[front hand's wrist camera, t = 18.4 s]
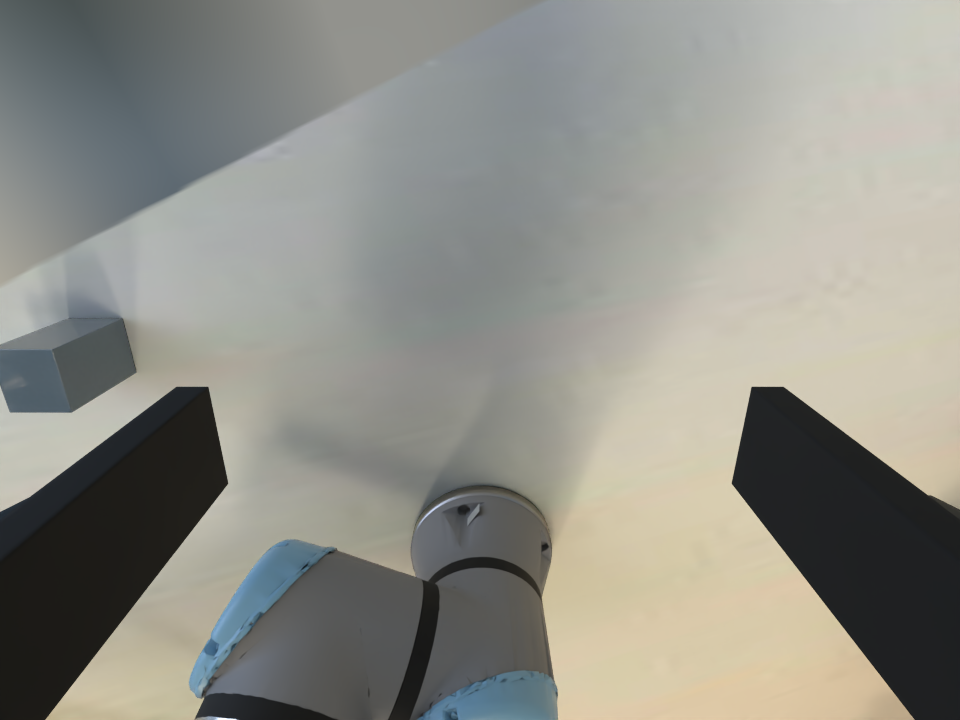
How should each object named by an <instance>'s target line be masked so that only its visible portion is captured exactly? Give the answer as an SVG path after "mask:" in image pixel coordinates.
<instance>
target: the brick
mask: <svg viewBox="0 0 960 720" xmlns="http://www.w3.org/2000/svg"><path fill="white" fill-rule="evenodd" d="M135 373H136V369H135V365H134V361H133V358H132V354H131V350H130V346H129V342H128V338H127V334H126V330H125V326H124V322H123V319H122V318H68V319H65V320H63V321H60V322H58V323H55V324H53V325H50V326H47V327H45V328H42V329H40V330H37V331H34V332H32V333H29V334H27V335H24V336H21V337H19V338H16V339H14V340H11V341H8V342H6V343H3V344H1V345H0V386H1V389H2V392H3V395H4V397H5V400H6V403H7V406H8V408H9V411H10V412H50V413H72V412H73V411H75V410H77V409H78V408H80V407H82V406H83V405H85V404H86V403H88V402H90V401H91V400H93V399H94V398H96V397H98V396H99V395H101V394H103V393H104V392H106V391H107V390H109V389H111V388H112V387H114V386H115V385H117V384H119V383H120V382H122V381H124V380H125V379H127V378H128V377H130V376H132V375H133V374H135Z"/></svg>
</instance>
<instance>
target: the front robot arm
mask: <svg viewBox="0 0 960 720" xmlns="http://www.w3.org/2000/svg"><path fill="white" fill-rule="evenodd" d="M227 485H228V480H227V475H226V470H225V465H224V461H223V456H222V451H221V446H220V441H219V436H218V432H217V427H216V422H215V417H214V412H213V407H212V403H211V398H210V393H209V388H208V387H176V388H174V389H173V390H172V391H170V392H169V393H168V394H166V395H165V396H164V397H162V398H161V399H160V400H158V401H157V402H156V403H154V404H153V405H152V406H150V407H149V408H148V409H146V410H145V411H144V412H142V413H141V414H140V415H139V416H137V417H136V418H135V419H133V420H132V421H131V422H129V423H128V424H127V425H125V426H124V427H123V428H121V429H120V430H119V431H117V432H116V433H115V434H113V435H112V436H111V437H109V438H108V439H107V440H105V441H104V442H103V443H101V444H100V445H99V446H97V447H96V448H95V449H93V450H92V451H91V452H89V453H88V454H87V455H85V456H84V457H83V458H81V459H80V460H79V461H77V462H76V463H75V464H73V465H72V466H71V467H69V468H68V469H67V470H65V471H64V472H63V473H61V474H60V475H59V476H57V477H56V478H55V479H53V480H52V481H51V482H49V483H48V484H47V485H45V486H44V487H43V488H41V489H40V490H39V491H37V492H36V493H35V494H33V495H32V496H31V497H29V498H27V499H25V500H23V501H21V502H19V503H17V504H15V505H13V506H11V507H9V508H7V509H5V510H3V511H1V512H0V720H45V719H46V718H47V717H48V715H49V714H50V713H51V712H52V710H53V709H54V708H55V706H56V705H57V704H58V703H59V701H60V700H61V699H62V697H63V696H64V695H65V693H66V692H67V691H68V690H69V688H70V687H71V686H72V684H73V683H74V682H75V681H76V679H77V678H78V677H79V675H80V674H81V673H82V672H83V670H84V669H85V668H86V666H87V665H88V664H89V663H90V661H91V660H92V659H93V657H94V656H95V655H96V654H97V652H98V651H99V650H100V648H101V647H102V646H103V644H104V643H105V642H106V641H107V639H108V638H109V637H110V635H111V634H112V633H113V632H114V630H115V629H116V628H117V626H118V625H119V624H120V623H121V621H122V620H123V619H124V617H125V616H126V615H127V614H128V612H129V611H130V610H131V608H132V607H133V606H134V604H135V603H136V602H137V601H138V599H139V598H140V597H141V595H142V594H143V593H144V592H145V590H146V589H147V588H148V586H149V585H150V584H151V583H152V581H153V580H154V579H155V577H156V576H157V575H158V574H159V572H160V571H161V570H162V568H163V567H164V566H165V565H166V563H167V562H168V561H169V559H170V558H171V557H172V555H173V554H174V553H175V552H176V550H177V549H178V548H179V546H180V545H181V544H182V543H183V541H184V540H185V539H186V537H187V536H188V535H189V534H190V532H191V531H192V530H193V528H194V527H195V526H196V525H197V523H198V522H199V521H200V519H201V518H202V517H203V515H204V514H205V513H206V512H207V510H208V509H209V508H210V506H211V505H212V504H213V503H214V501H215V500H216V499H217V497H218V496H219V495H220V494H221V492H222V491H223V490H224V488H225V487H226V486H227ZM732 485H733V486H734V487H735V488H736V490H737V491H738V492H739V494H740V495H741V496H742V497H743V499H744V500H745V501H746V503H747V504H748V505H749V506H750V508H751V509H752V510H753V512H754V513H755V514H756V515H757V517H758V518H759V519H760V521H761V522H762V523H763V525H764V526H765V527H766V528H767V530H768V531H769V532H770V534H771V535H772V536H773V537H774V539H775V540H776V541H777V543H778V544H779V545H780V546H781V548H782V549H783V550H784V552H785V553H786V554H787V555H788V557H789V558H790V559H791V561H792V562H793V563H794V565H795V566H796V567H797V568H798V570H799V571H800V572H801V574H802V575H803V576H804V577H805V579H806V580H807V581H808V583H809V584H810V585H811V586H812V588H813V589H814V590H815V592H816V593H817V594H818V595H819V597H820V598H821V599H822V601H823V602H824V603H825V604H826V606H827V607H828V608H829V610H830V611H831V612H832V614H833V615H834V616H835V617H836V619H837V620H838V621H839V623H840V624H841V625H842V626H843V628H844V629H845V630H846V632H847V633H848V634H849V635H850V637H851V638H852V639H853V641H854V642H855V643H856V644H857V646H858V647H859V648H860V650H861V651H862V652H863V654H864V655H865V656H866V657H867V659H868V660H869V661H870V663H871V664H872V665H873V666H874V668H875V669H876V670H877V672H878V673H879V674H880V675H881V677H882V678H883V679H884V681H885V682H886V683H887V684H888V686H889V687H890V688H891V690H892V691H893V692H894V694H895V695H896V696H897V697H898V699H899V700H900V701H901V703H902V704H903V705H904V706H905V708H906V709H907V710H908V712H909V713H910V714H911V715H912V717H913V718H914V719H915V720H960V510H959V509H957V508H955V507H953V506H951V505H949V504H947V503H945V502H943V501H941V500H939V499H937V498H935V497H933V496H928V495H927V494H925V493H924V492H923V491H921V490H920V489H919V488H917V487H916V486H915V485H913V484H912V483H911V482H909V481H908V480H907V479H905V478H904V477H903V476H901V475H900V474H899V473H897V472H896V471H895V470H893V469H892V468H891V467H889V466H888V465H887V464H885V463H884V462H883V461H881V460H880V459H879V458H877V457H876V456H875V455H873V454H872V453H871V452H869V451H868V450H867V449H865V448H864V447H863V446H861V445H860V444H859V443H857V442H856V441H855V440H853V439H852V438H851V437H849V436H848V435H847V434H845V433H844V432H843V431H841V430H840V429H839V428H837V427H836V426H835V425H833V424H832V423H831V422H829V421H828V420H827V419H825V418H824V417H823V416H821V415H820V414H819V413H818V412H816V411H815V410H814V409H812V408H811V407H810V406H808V405H807V404H806V403H804V402H803V401H802V400H800V399H799V398H798V397H796V396H795V395H794V394H792V393H791V392H790V391H788V390H787V389H786V388H784V387H752V388H751V393H750V398H749V403H748V407H747V412H746V417H745V422H744V427H743V432H742V436H741V441H740V446H739V451H738V456H737V461H736V465H735V470H734V475H733V480H732ZM551 557H552V545H551V539H550V534H549V529H548V526H547V524H546V521H545V519H544V518H543V516H542V514H541V513H540V512H539V511H538V509H537V508H536V507H535V506H534V505H533V504H532V503H530V502H529V501H528V500H526V499H525V498H523V497H522V496H520V495H518V494H516V493H514V492H511V491H509V490H506V489H502V488H498V487H491V486H472V487H465V488H461V489H457V490H454V491H451V492H449V493H447V494H445V495H443V496H441V497H439V498H438V499H436V500H435V501H434V502H432V503H431V504H430V505H429V506H428V507H427V508H426V509H425V510H424V511H423V513H422V514H421V516H420V517H419V519H418V521H417V523H416V525H415V528H414V532H413V538H412V544H411V559H412V565H413V569H414V571H415V575H416V577H414V576H411V575H408V574H405V573H401V572H398V571H395V570H392V569H389V568H387V567H384V566H381V565H378V564H375V563H372V562H369V561H366V560H363V559H360V558H357V557H355V556H352V555H349V554H346V553H343V552H340V551H337V548H335V547H327V548H325V547H321V546H318V545H314V544H310V543H307V542H303V541H299V540H294V539H290V540H284V541H281V542H279V543H277V544H276V545H274V546H273V547H271V548H270V549H269V550H268V551H267V552H266V553H265V554H264V555H263V556H262V557H261V558H260V560H259V561H258V562H257V563H256V564H255V566H254V567H253V568H252V570H251V571H250V572H249V574H248V575H247V577H246V578H245V579H244V581H243V582H242V584H241V585H240V587H239V588H238V590H237V591H236V593H235V594H234V596H233V597H232V599H231V601H230V602H229V604H228V605H227V607H226V609H225V610H224V612H223V614H222V615H221V617H220V618H219V620H218V622H217V624H216V626H215V627H214V629H213V631H212V633H211V638H210V639H209V640H208V642H207V643H206V645H205V647H204V649H203V651H202V652H201V654H200V655H199V657H198V659H197V661H196V663H195V666H194V668H193V671H192V673H191V676H190V680H189V686H190V690H191V691H192V692H194V693H195V695H196V697H197V698H201V699H202V698H203V697H204V700H203V703H202V705H201V707H200V709H199V711H198V713H197V715H196V717H195V720H558V711H557V697H558V693H557V687H556V684H555V681H554V677H553V670H552V663H551V657H550V650H549V643H548V637H547V630H546V624H545V617H544V610H543V604H542V594H543V590H544V586H545V583H546V579H547V575H548V571H549V568H550V563H551Z"/></svg>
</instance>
